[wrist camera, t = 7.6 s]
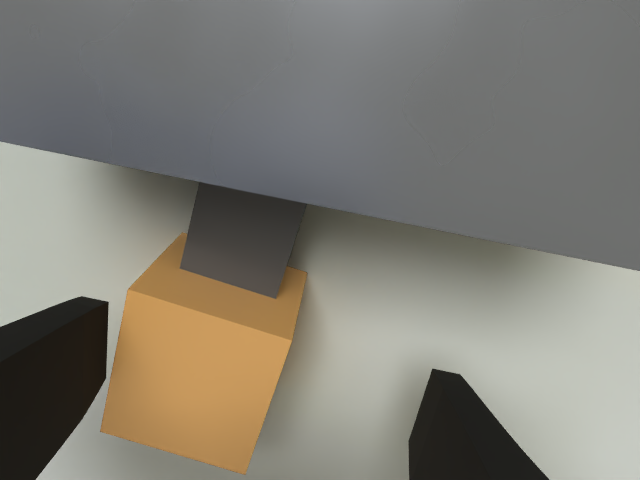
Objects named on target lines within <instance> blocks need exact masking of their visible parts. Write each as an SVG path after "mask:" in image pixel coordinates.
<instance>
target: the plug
mask: <svg viewBox="0 0 640 480" xmlns="http://www.w3.org/2000/svg"><path fill="white" fill-rule="evenodd" d="M306 205H307V203H302V202H297V201H292V200H287V199H282V198H277V197H272V196H267V195H262V194H257V193H252V192H247V191H242V190H237V189H233V188H228V187H223V186H218V185H213V184H208V183H203V182H200V183H199V187H198V192H197V196H196V200H195V204H194V209H193V213H192V217H191V221H190V226H189V230H188V234H186V233H183V232H182V233H181V234H180V235H179V236H178V237H177V238H176V239H175V241H174V242H173V243H172V244H171V245H170V246H169V247H168V248H167V249H166V250H165V251H164V252H163V253H162V254H161V255H160V256H159V257H158V258H157V259H156V260H155V261H154V262H153V264H152V265H151V266H150V267H149V268H148V269H147V270H146V271H145V272H144V273H143V274H142V275H141V276H140V277H139V278H138V279H137V280H136V281H135V282H134V283H133V284H132V285H131V286H130V288H129V289H128V291H127V296H126V301H125V307H124V312H123V317H122V322H121V327H120V332H119V337H118V343H117V348H116V353H115V358H114V363H113V368H112V373H111V379H110V384H109V389H108V394H107V399H106V404H105V409H104V414H103V420H102V425H101V430H100V432H103V433H106V434H110V435H113V436H117V437H120V438H123V439H127V440H130V441H133V442H137V443H140V444H143V445H147V446H150V447H153V448H157V449H160V450H163V451H167V452H170V453H174V454H177V455H180V456H184V457H187V458H190V459H194V460H197V461H200V462H204V463H207V464H210V465H214V466H217V467H220V468H224V469H227V470H230V471H234V472H237V473H241V474H244V475H245V474H246V471H247V468H248V465H249V462H250V459H251V457H252V454H253V451H254V448H255V445H256V442H257V439H258V437H259V434H260V431H261V428H262V425H263V422H264V420H265V417H266V414H267V411H268V408H269V405H270V402H271V400H272V397H273V394H274V391H275V388H276V385H277V382H278V380H279V377H280V374H281V371H282V368H283V365H284V362H285V360H286V357H287V354H288V351H289V348H290V345H291V343H292V339H293V335H294V330H295V326H296V321H297V317H298V312H299V308H300V303H301V299H302V294H303V290H304V285H305V281H306V276H307V272H304V271H301V270H298V269H295V268H292V267H288V266H287V263H288V260H289V257H290V254H291V251H292V248H293V245H294V242H295V239H296V236H297V233H298V229H299V226H300V223H301V220H302V217H303V214H304V211H305V208H306Z"/></svg>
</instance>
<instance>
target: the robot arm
mask: <svg viewBox="0 0 640 480" xmlns="http://www.w3.org/2000/svg"><path fill="white" fill-rule="evenodd" d="M108 304H109V302H106V301H101V300H97V299H92V298H87V297H82V296H81V297H78V298H75V299H71V300H68V301H66V302H63V303H60V304H58V305H55V306H52V307H50V308H47V309H45V310H42V311H40V312H37V313H35V314H32V315H30V316H27V317H25V318H22V319H20V320H17V321H14V322H12V323H9V324H7V325H4V326H2V327H0V480H36V478H37V477H38V476H39V474H40V473H41V472H42V471H43V469H44V468H45V467H46V465H47V464H48V463H49V462H50V460H51V459H52V458H53V457H54V455H55V454H56V453H57V451H58V450H59V449H60V448H61V446H62V445H63V444H64V442H65V441H66V440H67V438H68V437H69V436H70V434H71V433H72V432H73V431H74V429H75V428H76V427H77V425H78V424H79V423H80V421H81V420H82V419H83V417H84V415H85V414H86V412H87V410H88V409H89V407H90V405H91V404H92V402H93V400H94V399H95V397H96V395H97V393H98V392H99V390H100V388H101V386H102V385H103V383H104V381H105V379H106V361H107V332H108ZM409 480H549V479H548V478H547V476H546V475H545V474H544V473H543V472H542V471H541V470H540V469H539V468H538V467H537V466H536V465H535V464H534V463H533V461H532V460H531V459H530V458H529V457H528V456H527V455H526V453H525V452H524V451H523V450H522V449H521V448H520V447H519V445H518V444H517V443H516V442H515V441H514V440H513V438H512V437H511V436H510V435H509V434H508V432H507V431H506V430H505V429H504V428H503V426H502V425H501V424H500V423H499V421H498V420H497V419H496V418H495V417H494V415H493V414H492V413H491V412H490V410H489V409H488V408H487V407H486V405H485V404H484V403H483V402H482V400H481V399H480V398H479V397H478V395H477V394H476V393H475V392H474V390H473V389H472V388H471V387H470V385H469V384H468V383H467V382H466V381H465V379H464V378H463V377H462V376H461V375H460V374H456V373H451V372H446V371H441V370H436V369H432V371H431V375H430V378H429V381H428V384H427V387H426V390H425V393H424V396H423V399H422V402H421V405H420V408H419V411H418V414H417V417H416V420H415V424H414V427H413V430H412V433H411V436H410V439H409Z"/></svg>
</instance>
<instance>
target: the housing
mask: <svg viewBox="0 0 640 480" xmlns="http://www.w3.org/2000/svg"><path fill="white" fill-rule="evenodd" d="M0 141H1V142H6V143H10V144H15V145H20V146H25V147H30V148H35V149H40V150H45V151H50V152H55V153H60V154H65V155H70V156H75V157H80V158H84V159H89V160H94V161H99V162H104V163H109V164H114V165H119V166H124V167H129V168H134V169H139V170H144V171H149V172H154V173H158V174H163V175H168V176H173V177H178V178H183V179H188V180H193V181H198V182H203V183H208V184H213V185H218V186H223V187H228V188H233V189H237V190H242V191H247V192H252V193H257V194H262V195H267V196H272V197H277V198H282V199H287V200H292V201H297V202H302V203H307V204H311V205H316V206H321V207H326V208H331V209H336V210H341V211H346V212H351V213H356V214H361V215H366V216H371V217H376V218H381V219H385V220H390V221H395V222H400V223H405V224H410V225H415V226H420V227H425V228H430V229H435V230H440V231H445V232H450V233H455V234H459V235H464V236H469V237H474V238H479V239H484V240H489V241H494V242H499V243H504V244H509V245H514V246H519V247H524V248H529V249H534V250H538V251H543V252H548V253H553V254H558V255H563V256H568V257H573V258H578V259H583V260H588V261H593V262H598V263H603V264H608V265H612V266H617V267H622V268H627V269H632V270H637V271H640V0H0Z"/></svg>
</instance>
